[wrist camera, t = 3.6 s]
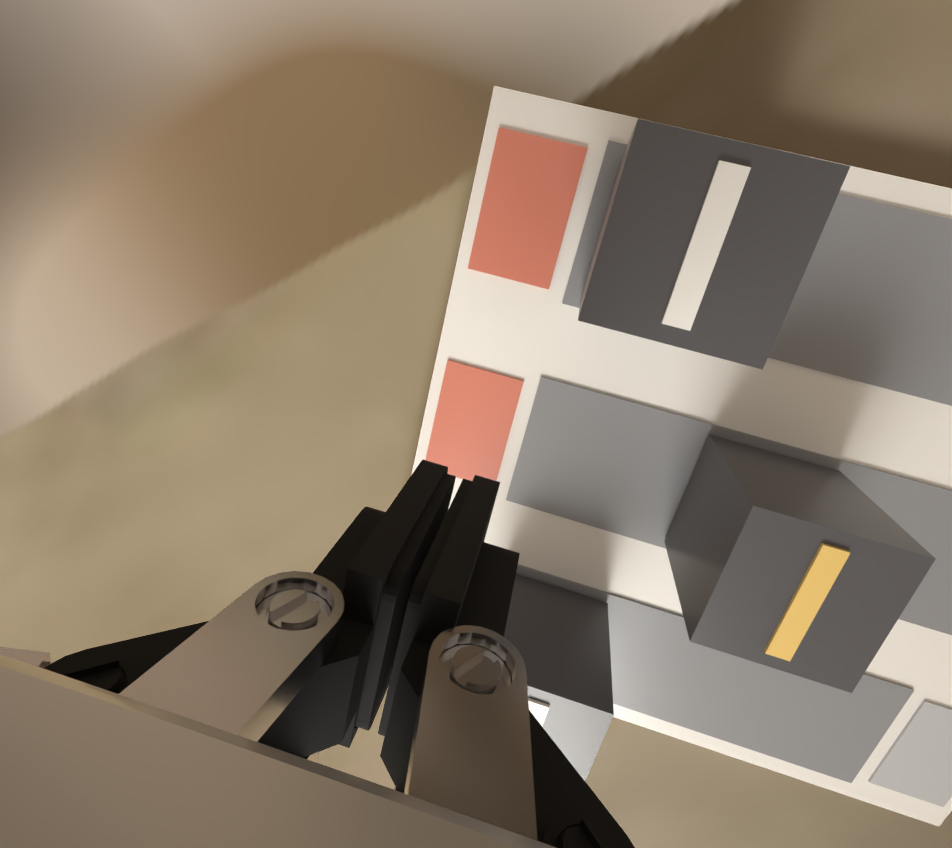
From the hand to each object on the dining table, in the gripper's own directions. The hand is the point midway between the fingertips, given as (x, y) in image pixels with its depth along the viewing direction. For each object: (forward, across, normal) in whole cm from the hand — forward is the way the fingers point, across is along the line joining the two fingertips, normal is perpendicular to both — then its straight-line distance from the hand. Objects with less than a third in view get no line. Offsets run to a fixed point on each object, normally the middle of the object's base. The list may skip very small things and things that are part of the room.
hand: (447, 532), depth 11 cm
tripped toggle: (+7, -8, +1) cm, 11 cm away
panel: (+9, -8, +1) cm, 12 cm away
